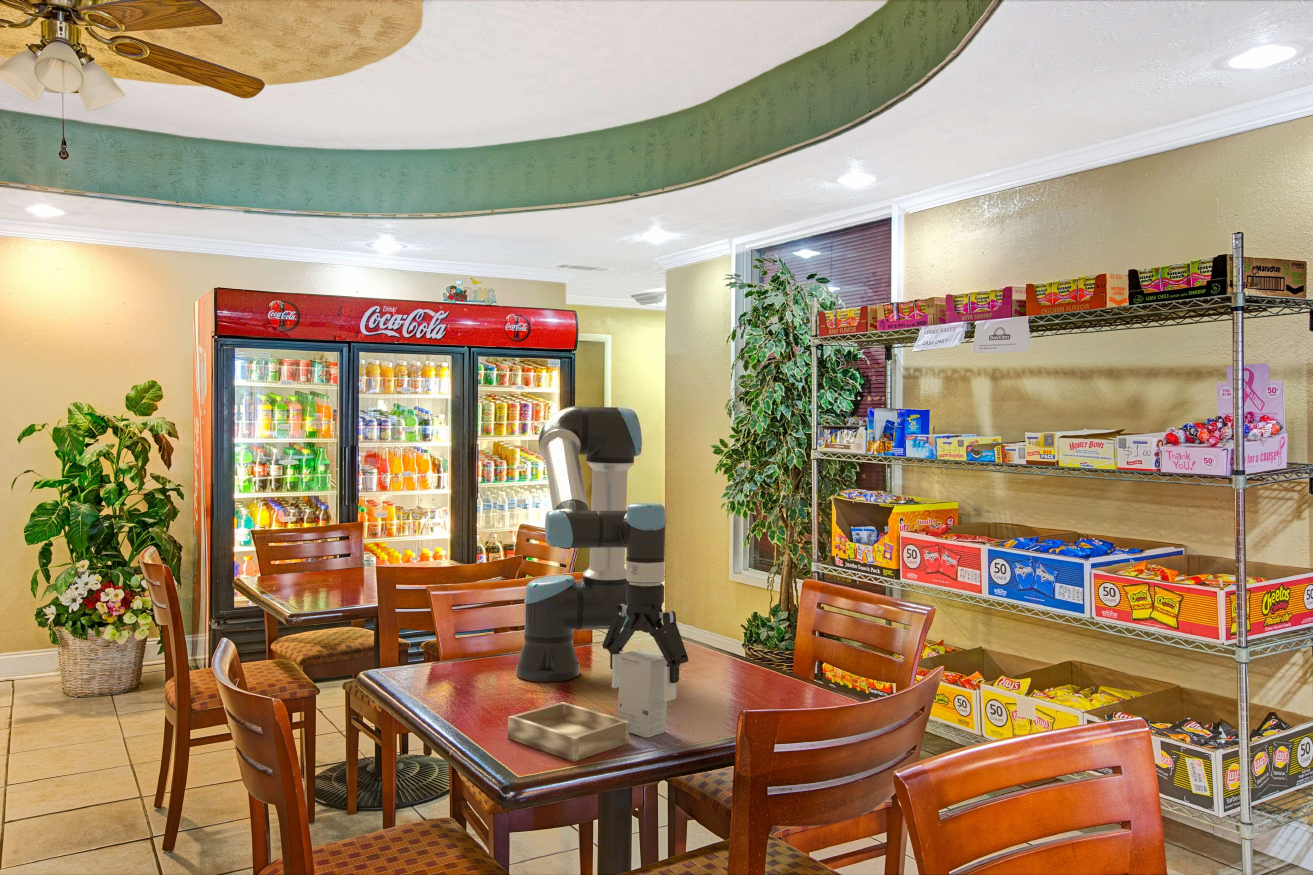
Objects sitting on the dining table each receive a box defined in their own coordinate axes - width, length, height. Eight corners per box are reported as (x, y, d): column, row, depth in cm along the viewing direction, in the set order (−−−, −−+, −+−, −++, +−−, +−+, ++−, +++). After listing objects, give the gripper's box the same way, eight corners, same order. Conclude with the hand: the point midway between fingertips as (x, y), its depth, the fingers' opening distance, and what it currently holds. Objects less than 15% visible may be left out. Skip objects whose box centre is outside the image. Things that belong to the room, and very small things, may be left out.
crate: (507, 737, 167) (508, 716, 167) (562, 721, 178) (563, 701, 178) (574, 761, 155) (574, 738, 155) (628, 742, 166) (629, 721, 166)
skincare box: (615, 729, 173) (617, 653, 174) (636, 722, 178) (637, 648, 178) (648, 739, 168) (650, 660, 168) (668, 732, 173) (670, 654, 173)
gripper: (586, 578, 179) (584, 684, 178) (682, 591, 162) (680, 709, 162) (612, 575, 184) (610, 678, 184) (707, 587, 168) (706, 701, 167)
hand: (643, 693), depth 173 cm, fingers open, 13 cm apart
